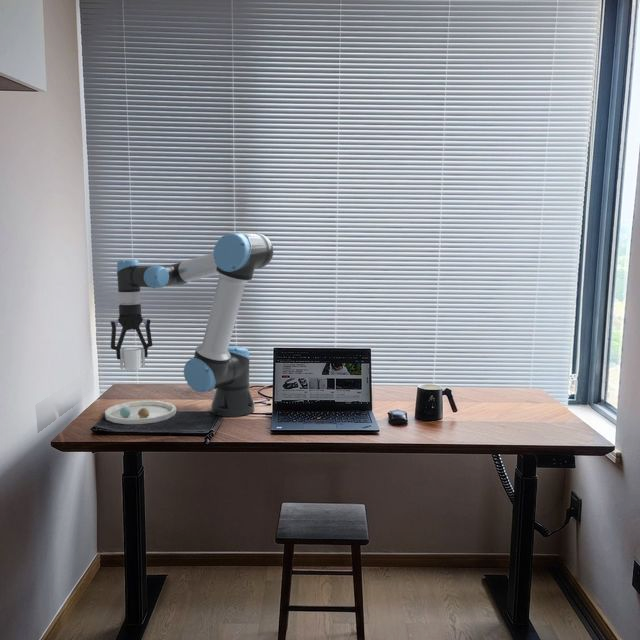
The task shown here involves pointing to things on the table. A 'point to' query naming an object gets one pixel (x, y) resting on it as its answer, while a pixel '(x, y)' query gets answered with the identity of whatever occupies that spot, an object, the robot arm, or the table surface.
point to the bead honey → (143, 413)
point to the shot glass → (132, 358)
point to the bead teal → (125, 412)
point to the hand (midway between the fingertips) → (132, 367)
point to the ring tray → (155, 408)
